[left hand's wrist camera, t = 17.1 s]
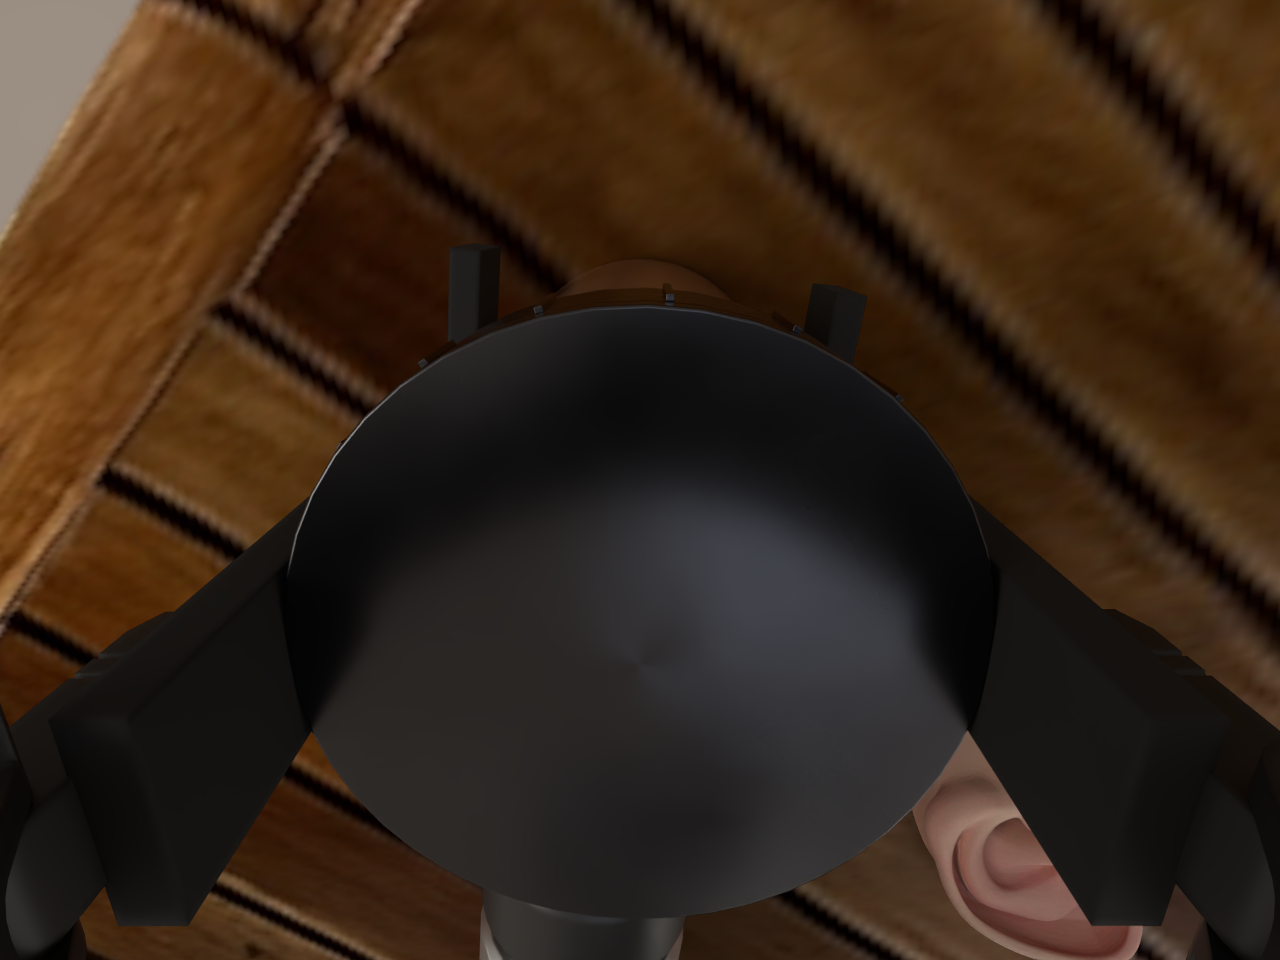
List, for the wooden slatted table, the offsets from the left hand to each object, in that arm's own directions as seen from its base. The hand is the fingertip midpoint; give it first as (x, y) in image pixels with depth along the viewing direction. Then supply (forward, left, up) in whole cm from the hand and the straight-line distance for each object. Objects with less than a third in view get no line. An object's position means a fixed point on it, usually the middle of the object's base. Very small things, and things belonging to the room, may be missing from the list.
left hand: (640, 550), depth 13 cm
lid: (0, 0, +3) cm, 3 cm away
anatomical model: (-25, +5, -14) cm, 29 cm away
